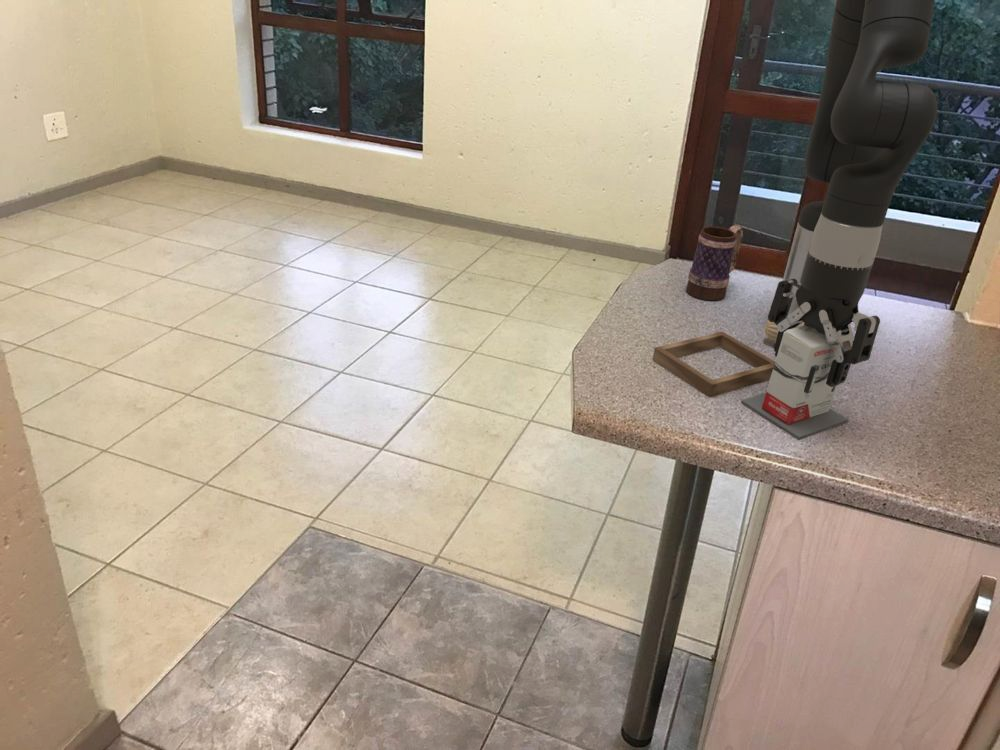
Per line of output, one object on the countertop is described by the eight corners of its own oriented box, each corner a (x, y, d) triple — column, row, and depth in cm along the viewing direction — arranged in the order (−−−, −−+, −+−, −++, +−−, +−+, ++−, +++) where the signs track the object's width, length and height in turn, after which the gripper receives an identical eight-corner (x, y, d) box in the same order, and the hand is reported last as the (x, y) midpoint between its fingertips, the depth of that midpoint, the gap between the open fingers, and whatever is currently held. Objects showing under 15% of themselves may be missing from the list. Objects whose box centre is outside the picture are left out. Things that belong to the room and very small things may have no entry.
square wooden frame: (719, 342, 124) (722, 331, 123) (778, 376, 115) (781, 365, 114) (652, 359, 117) (654, 347, 116) (709, 397, 108) (712, 384, 108)
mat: (789, 387, 113) (790, 385, 112) (847, 421, 105) (848, 419, 105) (740, 402, 108) (741, 400, 108) (798, 439, 100) (799, 437, 100)
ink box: (788, 426, 102) (812, 346, 97) (760, 408, 106) (781, 329, 100) (831, 412, 106) (856, 334, 101) (802, 395, 110) (825, 319, 104)
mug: (707, 304, 137) (721, 239, 131) (677, 289, 142) (689, 226, 136) (744, 294, 143) (760, 231, 137) (714, 280, 148) (728, 218, 142)
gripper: (912, 270, 92) (870, 389, 100) (814, 232, 102) (783, 342, 110) (872, 279, 88) (832, 402, 96) (774, 238, 99) (746, 352, 107)
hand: (806, 370), depth 103 cm, fingers open, 8 cm apart
